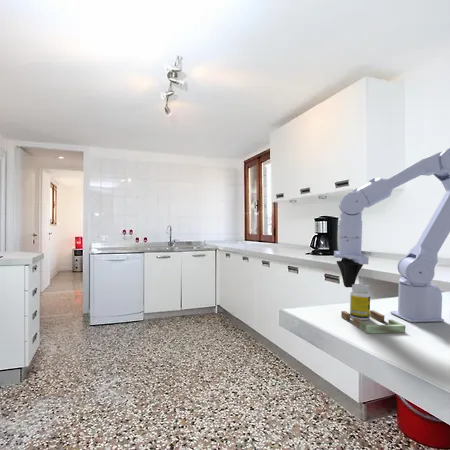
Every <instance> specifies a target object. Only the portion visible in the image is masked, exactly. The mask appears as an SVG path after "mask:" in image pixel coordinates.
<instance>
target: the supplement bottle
mask: <svg viewBox="0 0 450 450" xmlns="http://www.w3.org/2000/svg"><path fill="white" fill-rule="evenodd" d="M369 292H370V285H368V284H361V283H355V284H353V285H352V287H351V292H350V293H349V294H350V295H349V297H350V298H349V314H350V319H353V318H358V319H360V320H362V321H368V320H370V318H371V316H370V311H371V294H370V293H369Z"/></svg>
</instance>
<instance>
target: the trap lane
mask: <svg viewBox="0 0 450 450" xmlns="http://www.w3.org/2000/svg"><path fill="white" fill-rule="evenodd" d="M340 314H341V315H340V316H341V318H342V319H344V320H345V321H347V322H349V323H350V324H352V325H354V326H355V327H357V328H359V329H360V330H362V331H364V332H365V333H367V334H368V335H369V334H395V333H396V334H399V333H400V334H401V333H406V325H405V324H403V323H400V322H399V321H397V320H395V319H388V320H387V321H388V322H387V321H386V320H385V315H384V314H382V313H379V312H378V311H376V310H373V309H372V310H371V309H370V318H373V319H375V320H376V321H379V322H380V323H382V324H372V325H371V324H369V323H367V322H366V321H364V320H360V319H358V318H351V317H350V312H348V311H345V310H342V311H341V312H340Z"/></svg>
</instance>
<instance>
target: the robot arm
mask: <svg viewBox="0 0 450 450" xmlns="http://www.w3.org/2000/svg"><path fill="white" fill-rule="evenodd" d="M432 175H433V176H434V177H435V178H437V180H438V181H440V182H441V184H442V185H443V187H444V189H445V193H444V195H443V196H442V197H441V200H440V202H439V203H438V205H437V207H436V209H435V211H434V212H433V214H432V216H431V217H430V219H429V221H428V223H427V225H426V226H425V228H424V230H423V231H422V233H421V235H420V237H419V239H418V241H417V242H416V244H415V245H414V246H413V247H412V248H411V249H409V251H408V253H407V254H406V255H405V256H404V257H402V258H401V259H400V260H398V262H397V263H398V264H397V271H398V273H399V275H400V276H401V277H400V278H399V279H398V297H397V298H398V299H397V300H398V301H397V310H391V311H390V314H392V315H395V316H396V317H398V318H401V319H403V320H405V321H408V322H410V323H425V322H426V323H427V322H445V319H444V318H443V317H442V316H443V315H442V313H443V311H442V310H443V309H442V308H443V306H442V305H443V295H442V294H443V293H442V291H441V289H440V288H439V286H438V285H437V284H434V283H432V281H433V279H434V277H435V273H436V272H435V268H436V266H437V263H438V261H439V260H438V253H439V251H440V250H441V248H442V246H443V245H444V243H445V241H446V239H447V238H448V236H449V235H450V147H449V148H447V149H446V150H445V151H439V152H437V153H434V154H432V155H429V156H427V157H424V158H422V159H420V160H419V161H416V162H415V163H413V164H411V165H409V166H408V167H406V168H404V169H402V170H401V171H398V172H397V173H395V174H393V175H392V176H390V177H388V178H382V177H377V178H371V179H369V180H368V182H369V183H366V184H364V185H363V186H361V187H359V188H358V189H357V188H356V187H355V188H353V189H352V192H348V193H347V194H346V195H344V196H343V197H342V198H341V200H340V202H339V205H338V207H339V210H340V215H339V218H340V220H339V233H338V235H339V239H338V241H339V243H338V250H333V257H334V258H337V259H341V260H336V265H337V266H338V269H339V270H340V274H341V277H342V278H341V279H342V282H343V286H344V287H345V288H352V285H353V284H356V280H357V276H358V275H359V273H360V270H362V268H363V266H364V265H369V258H370V257H369V256H366V255H365V254H363V253H362V241H363V240H362V239H363V238H362V237H363V235H362V234H363V220H362V215H363V213H362V212H363V211H364V209H365V208H370V207H372V206H374V205H376V204H379V202H382V201H384V200H386V199H387V198H390V196H391V195H392V192H393V191H394V189H395V188H398V187H400V186H401V185H402V186H403V185H404V184H406V183H408V182H411V181H413V180H414V179H416V178H419V177H421V176H427V177H428V176H432Z"/></svg>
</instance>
